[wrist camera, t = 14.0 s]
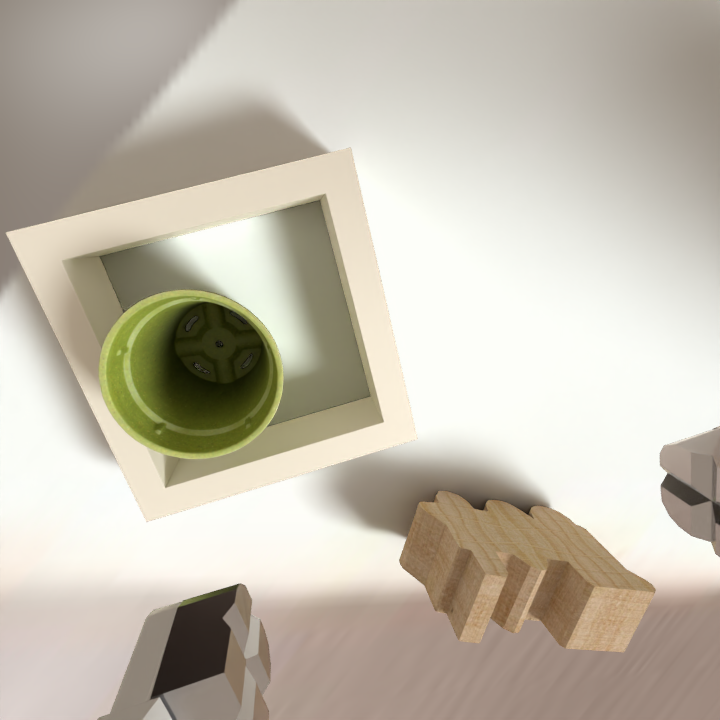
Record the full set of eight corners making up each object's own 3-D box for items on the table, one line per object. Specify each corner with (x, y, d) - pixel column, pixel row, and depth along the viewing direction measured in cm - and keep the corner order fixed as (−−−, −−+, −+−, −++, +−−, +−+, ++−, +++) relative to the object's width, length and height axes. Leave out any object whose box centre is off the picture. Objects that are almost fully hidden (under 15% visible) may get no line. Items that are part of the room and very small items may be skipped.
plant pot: (123, 358, 30) (61, 404, 22) (196, 247, 29) (159, 251, 21) (239, 424, 33) (223, 487, 25) (310, 325, 32) (317, 357, 23)
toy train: (409, 484, 37) (451, 570, 27) (575, 511, 41) (663, 595, 31) (391, 538, 38) (425, 639, 29) (554, 559, 42) (631, 654, 32)
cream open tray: (340, 161, 29) (350, 147, 24) (399, 411, 35) (417, 439, 30) (54, 233, 27) (5, 232, 23) (166, 481, 33) (146, 522, 28)
